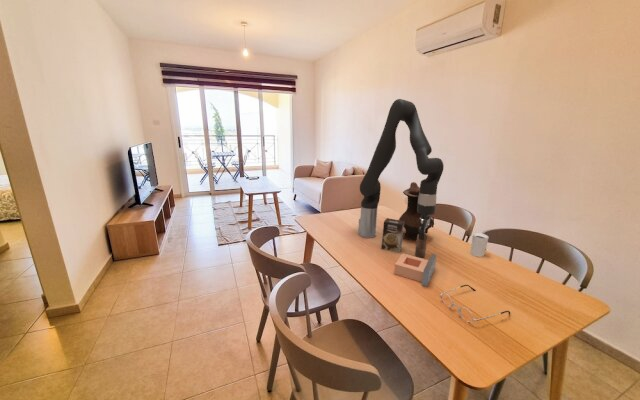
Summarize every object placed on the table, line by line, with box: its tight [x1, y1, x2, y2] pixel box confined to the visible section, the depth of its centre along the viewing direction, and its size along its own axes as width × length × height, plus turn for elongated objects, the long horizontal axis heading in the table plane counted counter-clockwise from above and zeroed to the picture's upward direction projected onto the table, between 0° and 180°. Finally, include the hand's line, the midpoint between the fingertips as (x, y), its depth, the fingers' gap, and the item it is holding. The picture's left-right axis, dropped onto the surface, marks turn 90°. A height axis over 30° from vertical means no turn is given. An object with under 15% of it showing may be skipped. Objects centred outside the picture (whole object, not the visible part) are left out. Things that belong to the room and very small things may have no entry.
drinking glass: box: [470, 232, 489, 258], centre depth 129 cm, size 7×7×10 cm
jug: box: [398, 181, 435, 241], centre depth 146 cm, size 21×18×30 cm
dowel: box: [414, 234, 428, 259], centre depth 123 cm, size 4×4×12 cm
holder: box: [393, 253, 429, 283], centre depth 111 cm, size 11×11×4 cm
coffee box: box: [381, 217, 405, 253], centre depth 131 cm, size 9×6×16 cm
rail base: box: [421, 253, 437, 288], centre depth 112 cm, size 24×16×8 cm, turn 57°
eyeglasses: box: [440, 284, 511, 323], centre depth 91 cm, size 16×19×5 cm
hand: (423, 236), depth 122 cm, fingers open, 8 cm apart
